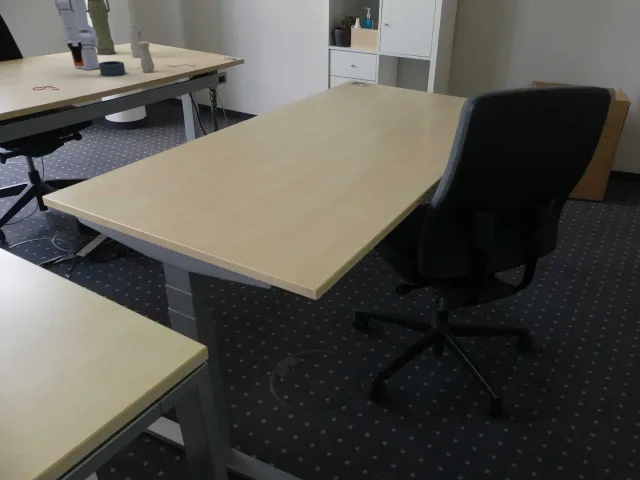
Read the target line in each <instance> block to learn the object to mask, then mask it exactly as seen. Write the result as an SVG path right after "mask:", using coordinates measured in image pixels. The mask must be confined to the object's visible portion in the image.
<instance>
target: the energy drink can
mask: <svg viewBox="0 0 640 480" xmlns="http://www.w3.org/2000/svg"><path fill="white" fill-rule="evenodd" d="M127 26H128V27H127V32H128V38H129V44H130V49H131V55H132V56H133V57H134V58H141V47H140V46H139V42H141V41H143V36H142V32H141V31H142V30H141V28H140V26H139V24H129V25H127Z"/></svg>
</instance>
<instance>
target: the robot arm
mask: <svg viewBox="0 0 640 480" xmlns="http://www.w3.org/2000/svg"><path fill="white" fill-rule="evenodd" d="M85 3H86V0H54V4H55V7H56V10H57V12H58V15H59V17H60V20H61V24H62V28H63V32H64V37H65V38H63V40H62V41H63V42H68V43H66V45H67V47H68V49H69V50H70V51H71V52H72V53H71V55H72V54H73V56H74V59H75V61H76V63H80V62H82V56H83V61H84V66H80V67H77V66H75V67H76V68H77V69H84V70H89V71H90V70H96V69H100V67H99V63H100V62H99V58H98V53H97V49H96V47H97V45H98V38H97V35H96V31H95V29H94V28H93V26H92V25H90V24H89V19H88V12H86V8H87V4H85ZM81 52H82V56H81Z"/></svg>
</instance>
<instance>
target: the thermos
mask: <svg viewBox="0 0 640 480" xmlns="http://www.w3.org/2000/svg"><path fill="white" fill-rule="evenodd" d="M105 2H106V3H105ZM85 4H86V2H85ZM86 5H87V7H86V12H87V14H88V15H89V18H90V21H91V26H92V27H93V28H94V29H95V31H96V35H97V38H98V45H97V47H95V48H96V52H97V55H101V56H111V55H114V54H116V51H115V50H116V49H115V44H114V40H113V39H112V34H111V29H110V28H111V27H110V23H109V13H110V12H111V8H110V3H109V0H87V4H86Z"/></svg>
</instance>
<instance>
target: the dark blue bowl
mask: <svg viewBox="0 0 640 480" xmlns="http://www.w3.org/2000/svg"><path fill="white" fill-rule="evenodd" d="M99 67H100V68H99V72H100V75H101V76H104V77H120V76H123V75H126V67H125V63H124V62H123V61H119V60H110V61H109V60H108V61H107V60H106V61H101V62H99Z"/></svg>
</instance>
